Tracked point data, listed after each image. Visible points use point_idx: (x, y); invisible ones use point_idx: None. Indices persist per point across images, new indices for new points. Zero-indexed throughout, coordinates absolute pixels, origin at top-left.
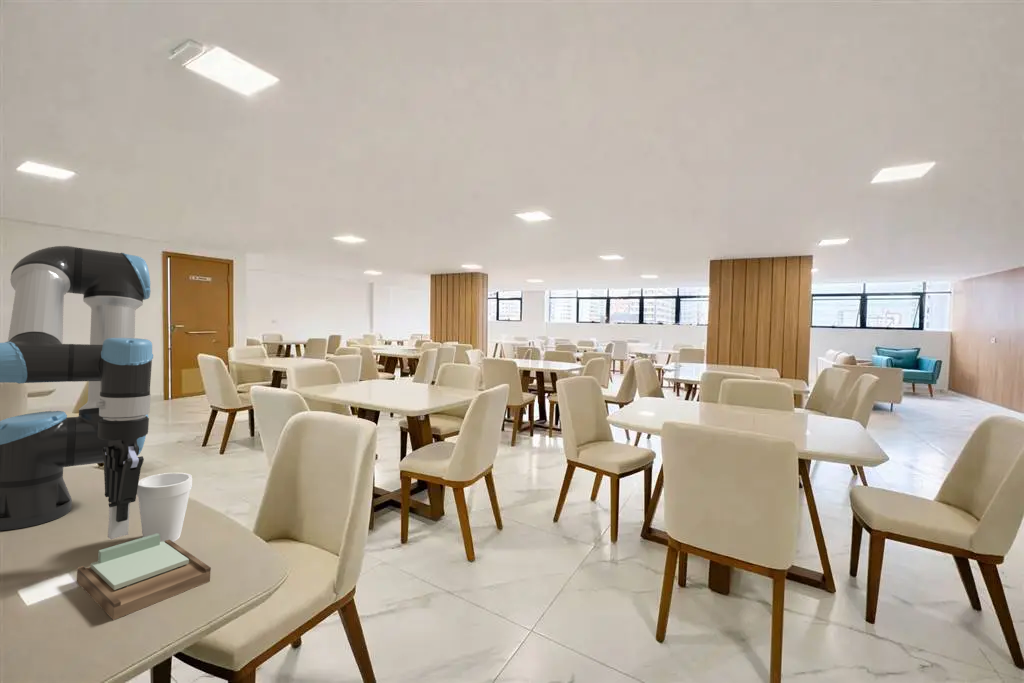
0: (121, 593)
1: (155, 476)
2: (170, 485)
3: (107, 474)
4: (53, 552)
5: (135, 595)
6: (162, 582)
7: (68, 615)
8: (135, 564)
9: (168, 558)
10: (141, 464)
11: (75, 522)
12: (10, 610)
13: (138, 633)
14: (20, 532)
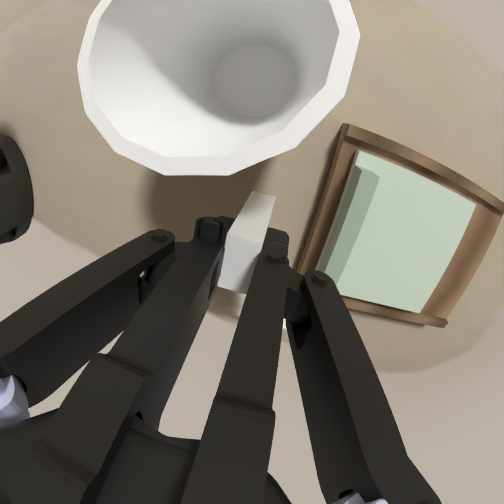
0: (429, 303)
1: (94, 49)
2: (337, 81)
3: (104, 342)
4: (135, 228)
5: (449, 298)
6: (464, 261)
7: (374, 326)
8: (400, 259)
9: (441, 215)
10: (423, 483)
11: (47, 151)
12: (289, 342)
13: (473, 313)
14: (42, 213)
